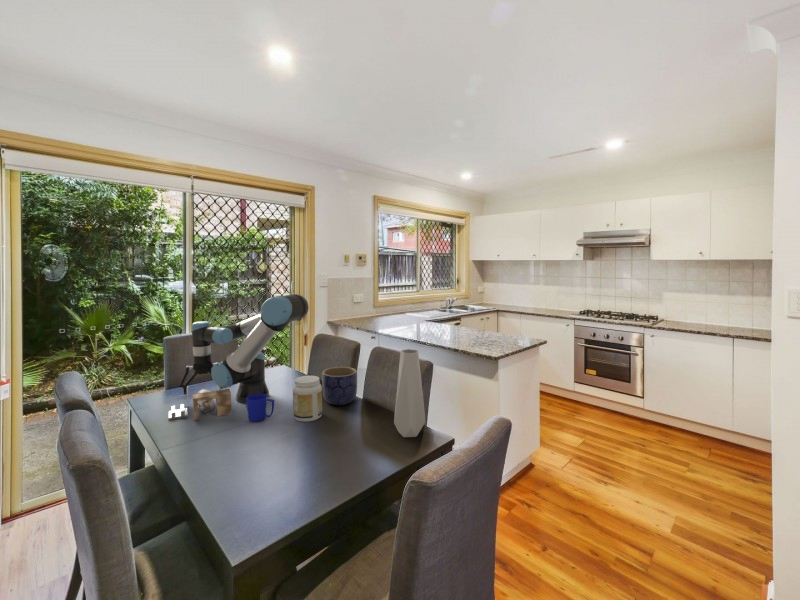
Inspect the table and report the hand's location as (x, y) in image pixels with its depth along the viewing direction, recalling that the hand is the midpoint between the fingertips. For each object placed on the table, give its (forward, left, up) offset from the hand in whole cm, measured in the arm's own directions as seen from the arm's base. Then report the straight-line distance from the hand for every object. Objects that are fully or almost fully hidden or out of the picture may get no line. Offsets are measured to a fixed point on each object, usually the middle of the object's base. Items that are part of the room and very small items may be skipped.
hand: (204, 398), depth 179 cm
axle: (0, +5, +1) cm, 5 cm away
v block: (+11, +11, -2) cm, 16 cm away
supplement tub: (-37, +42, -2) cm, 56 cm away
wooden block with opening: (-2, +18, -2) cm, 18 cm away
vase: (-65, +78, -2) cm, 102 cm away
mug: (-19, +35, -2) cm, 40 cm away
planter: (-56, +32, -2) cm, 65 cm away
